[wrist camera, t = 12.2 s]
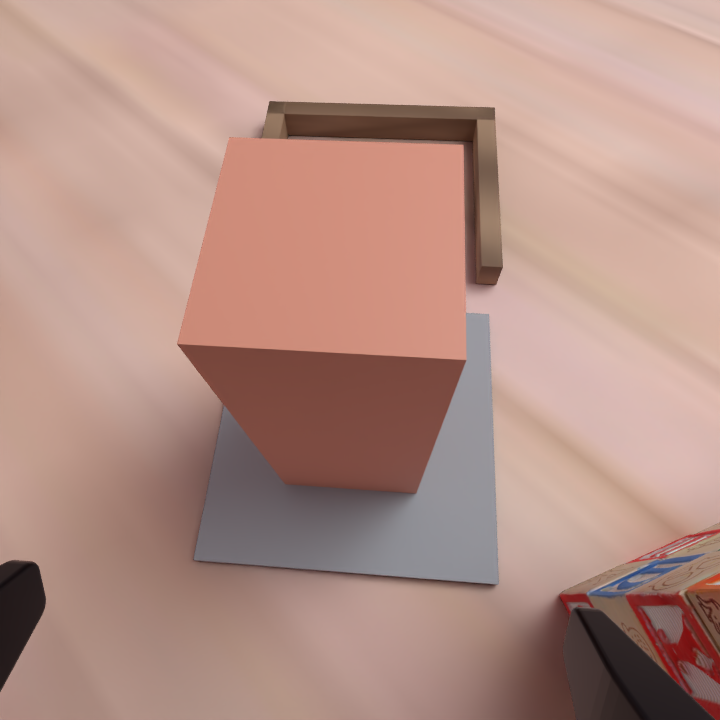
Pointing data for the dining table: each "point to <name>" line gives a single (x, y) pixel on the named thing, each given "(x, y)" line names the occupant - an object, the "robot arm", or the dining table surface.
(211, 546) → the slate-grey mat
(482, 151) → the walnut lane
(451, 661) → the dining table surface
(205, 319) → the salmon-pink block
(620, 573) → the stack of blocks
